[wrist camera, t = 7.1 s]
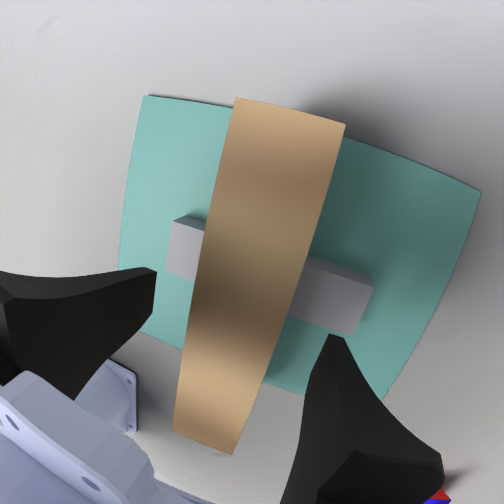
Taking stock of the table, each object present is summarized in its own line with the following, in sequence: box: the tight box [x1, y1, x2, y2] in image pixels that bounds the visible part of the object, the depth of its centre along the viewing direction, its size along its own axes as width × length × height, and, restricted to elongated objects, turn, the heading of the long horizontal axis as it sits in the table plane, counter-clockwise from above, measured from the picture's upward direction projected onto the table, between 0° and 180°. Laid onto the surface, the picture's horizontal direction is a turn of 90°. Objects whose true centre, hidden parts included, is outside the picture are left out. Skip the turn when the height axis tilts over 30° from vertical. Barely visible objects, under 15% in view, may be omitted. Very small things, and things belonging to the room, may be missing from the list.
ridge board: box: [118, 96, 481, 401], centre depth 17 cm, size 16×20×2 cm
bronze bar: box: [172, 97, 346, 455], centre depth 14 cm, size 16×4×5 cm, turn 166°
